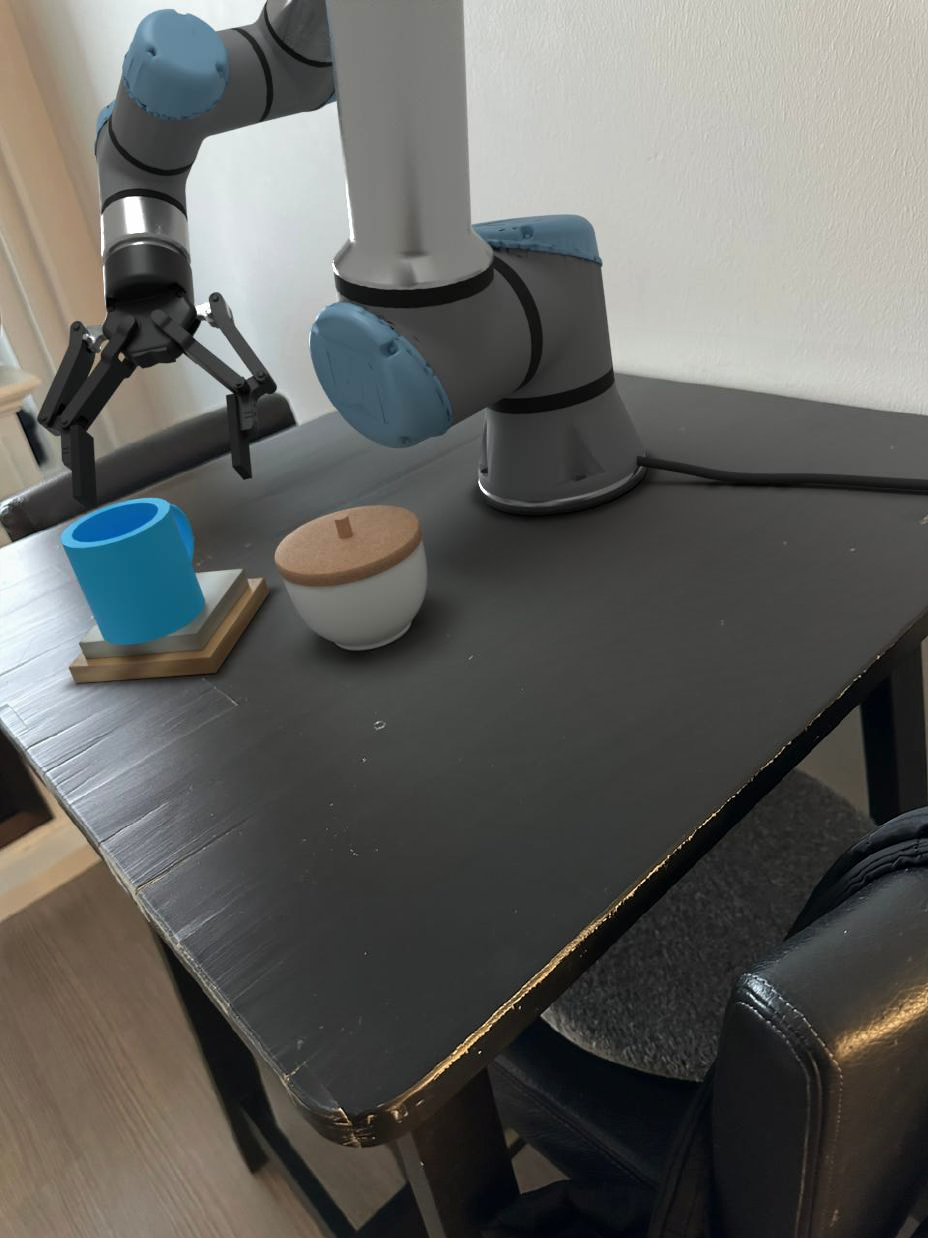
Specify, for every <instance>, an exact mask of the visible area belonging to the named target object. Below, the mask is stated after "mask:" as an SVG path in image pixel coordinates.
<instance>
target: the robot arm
mask: <svg viewBox="0 0 928 1238" xmlns="http://www.w3.org/2000/svg"><path fill="white" fill-rule="evenodd" d="M464 8H465V6H464V0H266V2H265V3H264V5H263V6H262V9H261V11H260V13H259V16H258V18H257V19H256V21H255V22H253V23H251V24H245V25H241V26H236V27H230V28H226V29H221V30H215V28H213V27H212V26H211V25H210V24H209V23H207V22H206V21H205V20H203V19H202V18H200V17H198V16H196V15H195V14H192V13H188V12H187V13H185V14H183V13H180V12H177V10H175V9H174V8H164V9H163V8H161V9H158V10H155V11H152V12H151V13H148V14H147V15H146V16H144V18H142V19H141V20H140V22H139V24H138V25H137V27H136V29H135V30H136V31H135V32H134V36H133V38H132V41H131V42H130V45H129V48H128V50H127V52H125V54H124V57H123V62H122V66H121V70H122V71H121V75H120V81H119V83H118V88H117V92H116V95H115V99H113V100H112V101H111V102H110V103H109V104H108V105H106V106H105V107H103V108H102V109H101V110H100V112H99V114H98V116H97V118H96V123H95V124H96V125H95V141H94V145H93V146H94V147H93V149H94V156H95V162H96V165H97V166H96V167H97V168H96V169H97V182H98V195H99V196H98V197H99V212H100V213H99V214H100V229H101V230H100V232H101V235H100V237H101V259H102V263H103V267H102V273H103V274H102V275H103V293H104V305H105V309H106V310H105V311H106V315H105V318H104V320H103V322H102V324H95V325H85V324H84V322H82V321H81V320H75V321H73V322H72V323H71V324H70V326H69V336H68V337H69V338H68V346H67V348H66V351H65V352H64V355H63V358H62V359H61V362H60V364H59V366H58V369H57V370H56V373H55V376H54V378H53V380H52V382H51V385H50V387H49V389H48V391H47V394H46V396H45V398H44V401H43V403H42V404H41V407H40V409H39V413H38V414H37V416H36V421H37V423H38V424H39V425H40V426H41V427H43V428H44V429H45V430H47V431H48V432H49V433H50V434H51V435H53V436H54V437H60V449H61V450H60V452H61V453H60V454H61V462H62V464H63V466H64V467H66V468H67V469H68V470H69V471H71V483H72V498H73V499H74V500H75V501H77V502H78V503H79V504H81V505H82V506H84V508H86V509H88V510H93V509H98V496H97V493H98V492H97V477H96V476H97V475H96V455H95V438H94V437H93V436H92V434H90V433H89V432H88V430H89V429H90V428H91V426H92V425H93V423H94V422H95V421H96V419H97V418H98V417H99V415H100V414H101V412H102V411H103V410H104V407H106V405H107V404H108V402H109V401H110V399H111V398H112V397H113V396H114V394H115V392H116V391H117V389H118V388H119V387H120V386H121V384H122V383H123V382H124V380H126V379H129V378H130V377H131V376H132V375H133V374H134V372H135V370H136V369H137V368H138V367H140V368H141V369H142V370H144V369H148V368H152V367H154V366H156V365H158V364H173V363H177V359H179V358H181V357H182V355H183V356H186V358H188V359H189V360H190V361H192V362H193V363H194V364H195V365H198V366H199V367H200V368H201V369H202V370H204V371H205V372H206V373H207V374H209V375H210V376H211V377H212V378H213V379H215V381H217V382H218V383H220V384H221V385H222V386H223V387H225V388H226V389H227V390H228V391H229V392H230V393H229V394H225V400H226V401H225V402H226V413H227V422H228V434H229V435H228V436H229V447H230V456H231V457H230V459H231V468H233V470H234V471H235V472H236V473H237V474H238V475H239V476H240V478H242V479H243V480H249V479H253V471H252V461H251V460H252V459H251V451H250V440H249V438H254V437H258V435H259V432H260V424H259V416H258V415H259V414H258V400H259V399H260V398H261V397H262V396H265V395H273V394H275V393H276V391H277V390H278V385H277V383H276V381H275V380H274V378H273V377H272V375H271V374H270V373H269V371H268V369H267V368H266V367H265V365H264V363H263V362H262V360H261V359H260V358H259V357H258V356H257V354H256V353H255V352H254V350H253V348H252V347H251V346H250V344H249V343H248V341H247V340H246V339H245V338H244V336H243V335H242V333H241V332H240V331H239V329H238V328H237V326H236V324H235V319H234V315H233V314H234V313H233V311H232V308H231V307H230V306H229V304H228V302H227V301H226V299H225V298H224V296H223V295H222V293H220V292H218V291H214V292H212V293H210V294H209V296H208V301H205V302H203V303H199V304H196V305H195V292H194V291H195V289H194V278H193V277H194V276H193V268H192V266H191V264H192V259H191V245H190V243H191V242H190V231H189V219H188V209H187V208H188V207H187V194H186V193H187V192H186V191H187V190H186V189H187V180H188V178H189V176H190V173H191V170H192V167H193V165H194V163H195V162H196V160H197V158H198V154H199V152H200V149H201V147H202V144H203V142H204V141H205V140H206V139H207V138H208V137H212V136H215V135H219V134H223V133H227V132H228V133H229V132H231V131H235V130H238V129H242V128H246V127H249V126H253V125H257V124H261V123H265V122H268V121H273V120H277V119H281V118H285V117H289V116H293V115H297V114H301V113H311V112H315V111H318V110H321V109H323V108H324V107H325V106H327V105H330V104H333V103H336V109H337V120H338V128H339V129H338V130H339V138H340V146H341V147H340V148H341V155H342V156H341V157H342V164H343V165H342V166H343V175H344V184H345V193H346V194H345V195H346V202H347V212H348V220H349V229H350V235H349V237H348V238H347V240H346V241H345V242H344V243H343V244H342V245H341V247H340V248H339V249H338V251H337V252H335V254H334V256H333V258H332V269H333V277H334V278H333V279H334V288H335V296H336V302H333V303H331V304H329V305H326V306H324V307H323V308H322V310H321V311H320V312H319V313H318V314H317V315H316V318H315V320H314V321H313V323H312V324H311V326H310V330H309V340H308V343H309V344H308V345H309V353H310V359H311V362H312V367H313V369H314V373H315V375H316V377H317V380H318V382H319V385H320V386H321V388H322V390H323V392H324V394H325V395H326V397H327V399H328V400H329V402H330V403H331V405H332V406H333V408H335V409H336V410H337V412H338V413H339V414H340V416H341V417H342V419H343V420H344V421H345V422H346V423H347V424H348V425H349V426H350V427H352V428H353V429H354V430H355V431H356V432H358V434H360V435H362V436H363V437H364V438H366V439H367V440H369V441H371V442H374V443H375V444H377V445H380V446H383V447H387V448H392V449H407V448H411V447H413V446H416V445H418V444H420V443H422V442H425V441H426V440H428V439H429V440H430V439H431V438H437V437H441V436H443V435H444V434H446V433H447V431H448V430H450V429H451V428H452V427H454V426H456V425H458V424H460V423H461V422H463V421H465V420H466V419H468V418H470V417H472V416H473V415H476V414H477V413H479V412H481V411H483V410H484V420H483V428H482V437H481V443H480V444H481V445H480V452H479V461H478V462H479V463H478V469H477V475H478V485H479V490H480V495H481V498H482V500H483V501H484V502H485V504H487V505H489V506H490V507H492V508H494V509H496V510H498V511H502V512H506V513H510V514H517V515H526V516H527V515H529V516H538V515H539V516H544V515H557V514H564V513H571V512H575V511H580V510H584V509H588V508H591V507H592V508H593V507H595V506H597V505H601V504H603V503H606V502H609V501H611V500H613V499H616V498H618V497H620V496H622V495H624V494H625V493H627V492H628V491H629V490H631V489H632V488H634V487H635V486H636V485H638V484H639V483H640V482H641V480H642V479H643V478H644V477H645V474H646V471H647V468H648V469H655V470H660V471H668V472H671V473H679V474H682V475H683V474H684V475H688V476H693V477H698V478H701V479H708V480H712V481H720V482H728V483H736V484H737V483H741V484H761V485H764V484H765V485H768V484H769V485H770V484H771V485H777V484H783V485H784V484H787V485H788V484H791V485H792V484H793V485H794V484H795V485H797V484H799V485H800V484H801V485H803V484H805V485H830V486H848V487H862V488H863V487H864V488H878V489H891V490H904V491H905V490H906V491H924V492H928V478H927V479H925V478H924V479H923V478H904V477H891V476H890V477H888V476H872V475H857V474H839V473H817V472H815V473H813V472H811V473H810V472H778V473H777V472H776V473H775V472H774V473H773V472H771V473H770V472H769V473H768V472H756V473H755V472H739V471H729V470H719V469H715V468H714V469H713V468H708V467H703V466H699V465H695V464H690V463H684V462H678V461H673V460H666V459H660V458H655V457H649V456H646V453H645V449H644V444H643V442H642V441H643V440H642V439H641V436H640V435H639V434H638V432H637V429H636V427H635V425H634V423H633V420H632V418H631V416H630V414H629V411H628V410H627V408H626V406H625V404H624V401H623V400H622V397H621V395H620V393H619V391H618V388H617V386H616V378H615V371H614V363H613V354H612V347H611V345H612V344H611V338H610V329H609V321H608V313H607V304H606V303H607V302H606V295H605V289H604V279H603V271H602V267H603V266H604V265H603V259H602V258H601V257H600V253H599V247H598V243H597V237H596V232H595V228H594V225H593V224H592V223H591V222H590V221H589V220H588V219H587V218H586V217H584V216H581V215H578V214H567V213H564V214H547V215H546V214H545V215H534V216H523V217H514V218H504V219H498V220H489V221H482V222H477V223H472V205H471V201H472V199H471V176H470V173H471V172H470V146H469V123H468V121H469V120H468V119H469V118H468V95H467V91H468V90H467V64H466V63H467V62H466V37H465V35H466V34H465V11H464V10H465V9H464ZM203 321H206V322H207V323H208V325H209V326H210V327H211V328H213V329H215V328H216V329H218V330H219V331H220V332H221V333H222V335H223V336H224V338H225V339H226V341H228V343H229V345H230V346H231V348H232V349H233V350H234V352H235V353H236V355H237V356H238V358H240V360H241V361H242V362H243V363H242V364H244V365H245V367H246V368H247V369H248V371H249V372H250V374H251V376H250V377H248V378H245V376H241V374H239V373H238V372H236V370H234V369H233V368H232V367H230V366H229V365H228V364H226V363H225V362H224V361H223V360H222V359H221V358H219V357H218V356H217V355H215V354H214V353H213V352H212V351H210V350H209V349H208V348H207V347H206V346H204V345H203V344H202V343H200V342H199V341H198V340H197V339H196V338H195V334H196V333H197V331H198V329H199V328H200V327H201V324H202V322H203ZM106 341H108V342H107V343H106V345H104V347H103V349H102V348H101V346H102V344H103V343H104V342H106ZM99 353H100V359H99V360H98V362H97V364H96V365H95V367H93V366H94V363H95V359H96V354H99ZM120 354H121V355H122V356H123V357H124V358H123V359H122V360H121V359H120V358H119V356H120ZM92 368H93V369H92Z"/></svg>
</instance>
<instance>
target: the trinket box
mask: <svg viewBox="0 0 928 1238" xmlns="http://www.w3.org/2000/svg"><path fill="white" fill-rule="evenodd" d="M425 551H426V550H425V545H424V541H423V530H422V525H421V521H420V519H419V517H418V516H417V515H416V514H415V513H413V512H412V511H411V510H408V509H407V508H404V507H401V506H395V505H386V504H379V505H378V504H376V505H375V504H373V505H372V504H371V505H362V506H357V507H351V508H345V509H342V510H338V511H335V512H331V513H328V514H325V515H322V516H319V517H317V518H316V519H313V520H311V521H308V522H307V523H304V524H302V525H300V526H299V527H298V528H296V529H294V530H293V531H292V532H291V533H289V534H288V535H286V536H285V537H284V538H283V539H282V541H280V543H279V545H278V546H277V547H276V550H275V552H274V558H273V559H274V563H275V567H276V569H277V572H278V574H279V575H280V576H281V579H282V582H283V585H284V588H285V590H286V593H287V596H288V598H289V601H290V603H291V604H292V606H293V608H294V610H295V611H296V613H297V614H298V616H299V617H300V619H301V620H302V622H304V624H305V625H306V626H307V627H308V628H309V629H310V630H312V631H313V632H314V633H315V634H316V635H318V636H319V637H321V638H323V639H325V640H328V641H329V642H332V643H334V644H335V645H336V646H338V647H339V648H341V649H344V650H347V651H368V650H373V649H378V648H380V647H384V646H386V645H388V644H390V643H393V642H394V641H396V640H399V638H401V637H402V636H404V635H405V634H406V633H407V632H408V630H409V629H410V628H411V626H412V622H413V620H414V618H415V617H416V615H417V614H418V612H419V611H420V609H421V607H422V605H423V603H424V600H425V597H426V591H427V587H428V564H427V562H428V561H427V556H426V552H425Z"/></svg>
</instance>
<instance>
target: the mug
mask: <svg viewBox="0 0 928 1238" xmlns="http://www.w3.org/2000/svg"><path fill="white" fill-rule="evenodd" d="M59 540H60V543H61V545H62V548H63V550H64V552H65V554H66V556H67V559H68V561H69V563H70V566H71V568H72V571H73V572H74V575H75V577H76V579H77V582H78V584H79V587H80V588H81V589H80V590H81V591H82V593H83V595H84V598H85V600H86V602H87V604H88V607H89V609H90V611H91V614H92V616H93V619H94V620H95V624H96V623H97V625H98V628H99V630H100V632H101V634H102V636H103V638H104V640H106V641H108V642H110V643H112V644H119V645H130V644H139V643H144V642H148V641H151V640H155V639H159V638H161V637H163V636H166V635H168V634H171V633H173V632H175V631H177V630H178V629H180V628H182V627H184V626H185V625H187V624H189V623H190V622H191V621H192V620H193V619H194V618H196V617H197V616H198V615H199V614H200V612H201V611H202V609H203V608H204V603H205V598H204V596H203V593H202V590H201V587H200V585H199V582H198V579H197V577H196V574H195V573H196V572H195V569H194V566H193V558H194V552H195V537H194V533H193V529H192V524H191V522H190V521H189V518H188V516H187V515H186V513H185V512H184V511H182V509H180V507H178V506H177V505H176V504H173V503H170V502H168V501H167V500H165V499H162V498H158V497H141V498H134V499H129V500H125V501H119V502H116V503H113V504H110V505H107V506H105V507H102V508H99V509H96V510H94V511H92V512H89V513H88V514H85V515H84V516H81V517H80V518H79V519H77V520H75V521H74V522H72V523H71V524H70V525H68V526H67V527H66V528H65V529H64V530H63V532H62V533H61V534H60V538H59Z"/></svg>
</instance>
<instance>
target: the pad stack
mask: <svg viewBox="0 0 928 1238" xmlns="http://www.w3.org/2000/svg"><path fill="white" fill-rule="evenodd" d="M195 574H196V577H197V579H198V582H199V585H200V587H201V590H202V593H203V596H204V598H205V603H204V608H203V609H202V611H201V612H200V614H199V615H198V616H197V617H196V618H194V619H193V620H192V621H191V622H190V623H189V624H187V625H185V626H184V627H182V628H180V629H178V630H177V631H175V632H173V633H171V634H168V635H166V636H163V637H161V638H159V639H155V640H151V641H148V642H144V643H139V644H130V645H119V644H112V643H110V642H108V641H106V640H104V638H103V636H102V634H101V632H100V630H99V628H98V625H97V623H96V622H95V624H94V625H93V626H92V627H91V628H90V630H89V631H87V632H86V634H85V635H84V636H83V637H82V638H81V640H80V641H78V646H79V647H80V650H81V652H80V654H79V655H77V657H76V658H74V660H73V661H72V662H71V664H70V665H69V666H68V670H69V672H70V675H71V676H72V679H73V681H74V684H84V683H96V682H97V683H99V682H110V681H111V682H112V681H124V680H125V681H127V680H137V679H138V680H139V679H150V678H152V679H153V678H165V677H166V678H167V677H168V678H169V677H178V676H179V677H182V676H194V675H207V674H216V673H217V672H218V671H219V670H220V668H221V666H222V665H223V664H224V662H225V660H226V659H227V657H228V656H229V655H230V653H231V651H232V650H233V648H235V647H234V646H235V645H236V643H237V642H238V641H239V639H240V637H241V636H242V634H243V633H244V632H245V630H246V629H247V627H248V625H249V624H250V622H251V621H252V619H254V617H255V615H256V613H257V611H259V609H260V608H261V606H262V605H263V603H264V601H265V600H266V599H267V597H268V595H269V594H270V590H269V587H268V585H267V581H266V579H265V577H253V578H248V576H247V574H246V571H245V568H235V569H234V568H233V569H224V570H214V571H204V572H195Z"/></svg>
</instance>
